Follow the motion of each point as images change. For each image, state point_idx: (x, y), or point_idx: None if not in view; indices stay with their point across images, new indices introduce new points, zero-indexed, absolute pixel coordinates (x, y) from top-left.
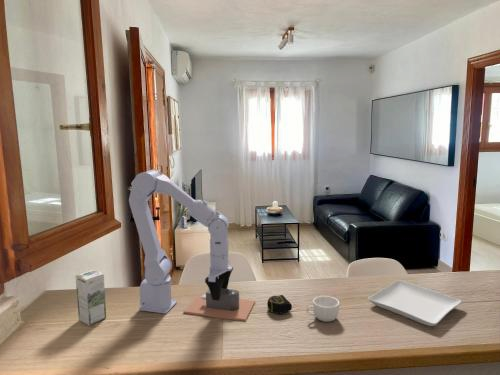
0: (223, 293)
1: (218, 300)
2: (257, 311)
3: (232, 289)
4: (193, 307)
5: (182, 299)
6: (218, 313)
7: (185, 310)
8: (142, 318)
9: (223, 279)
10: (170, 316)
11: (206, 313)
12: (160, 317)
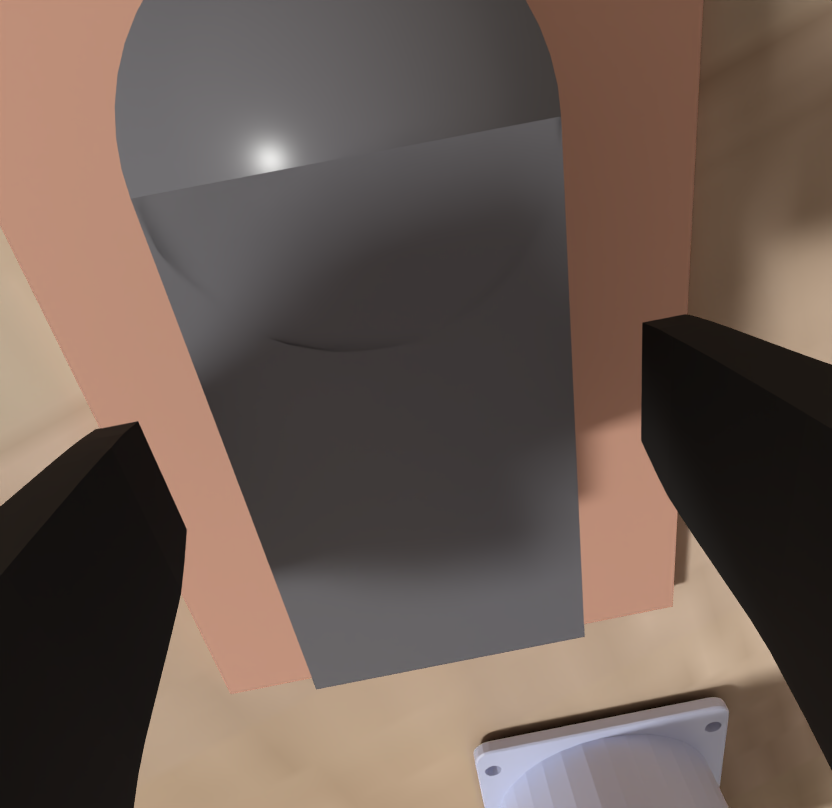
0: (491, 347)
1: (685, 316)
2: None
3: (151, 251)
4: None
5: (388, 738)
6: (625, 213)
7: (649, 601)
8: (816, 765)
9: (76, 685)
10: (751, 641)
11: None
12: (782, 688)
